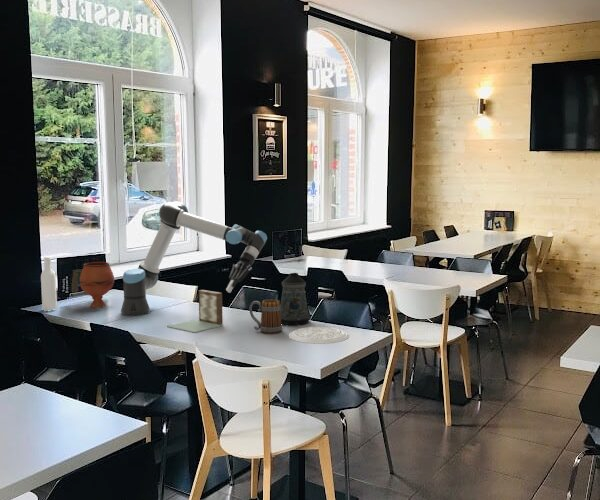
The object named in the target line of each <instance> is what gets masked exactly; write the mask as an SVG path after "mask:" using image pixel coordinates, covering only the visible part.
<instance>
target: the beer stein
mask: <svg viewBox="0 0 600 500" xmlns="http://www.w3.org/2000/svg"><path fill="white" fill-rule="evenodd" d="M306 284H307V281H305V280H304V279H303V278H302V277H301V276H300V275H299V273H298V272H291V273H289V274H288V276H287V277H286V278H285V279H283V281H281V286H282V293H281V298H280V313H281V324H282V326H286V325H288V326H287V327H300V326H306V325H308V324H309V323H310V318H311V316H310V313H309V310H308V304H307V302H308V301H307V296H306V290H305V289H306ZM299 325H300V326H299Z"/></svg>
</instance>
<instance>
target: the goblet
mask: <svg viewBox="0 0 600 500" xmlns="http://www.w3.org/2000/svg"><path fill="white" fill-rule="evenodd" d="M82 267H83V268H82V270H81V273H80V276H79V286H80V288H81V290H82V291H83V292H84V293H85V294H86V295H88V296H89V297H90V296H91V299H92V300H93V301H92V302H91V304H90V306H91V307H90V306H89V307H90V308H93V307H99V308H104V307H106V306H107V304H106V303H105V301H104V300H103V296H104V295H106V294H107V293H108V292H110V290H111V289H112V288H113V286H114V284H115V276H114V272H113V271H112V268H111V265H110V262H106V261H92V262H87V263H83V266H82ZM103 306H104V307H103Z"/></svg>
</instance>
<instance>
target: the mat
mask: <svg viewBox="0 0 600 500" xmlns="http://www.w3.org/2000/svg"><path fill="white" fill-rule="evenodd" d="M221 326H222V324H221V325H218V324H213V323H208V322H203V321H199V319H197V320H196V319H192V320H191V319H190V320H188V321H182V322H179V323H175V324H170V325H167V328H170V329H175V330H178V331H184V332H188V333H192V334H193V333H194V334H196V333H200V332H204V331H208V330H211V329H215V328H219V327H221Z"/></svg>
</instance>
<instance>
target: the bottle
mask: <svg viewBox="0 0 600 500" xmlns="http://www.w3.org/2000/svg"><path fill="white" fill-rule="evenodd" d="M43 267H44V269H43V270H42V272H41V274H40V283H41V285H40V286H41V303H42V305H41V309H42V311H43V310H45V311H44V312H46V311H48V310H53V309H57V310H58V298H57V297H58V294H57V278H56V277H57V275H56V272H55V271H54V269H52V257H51V256H44V257H43ZM48 312H49V311H48Z"/></svg>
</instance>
